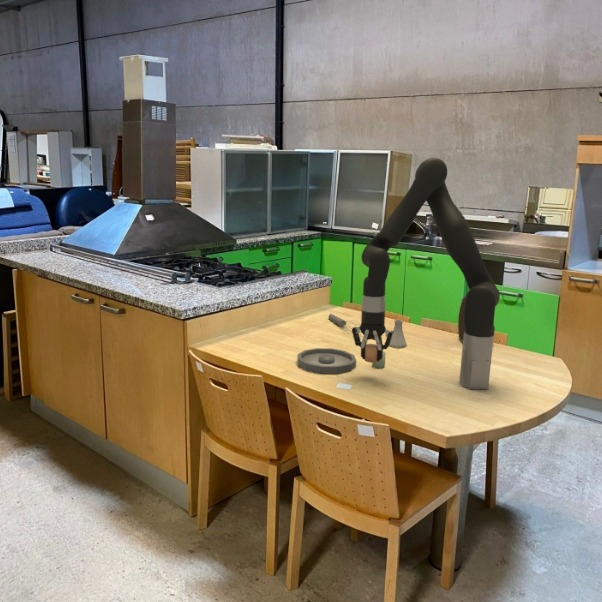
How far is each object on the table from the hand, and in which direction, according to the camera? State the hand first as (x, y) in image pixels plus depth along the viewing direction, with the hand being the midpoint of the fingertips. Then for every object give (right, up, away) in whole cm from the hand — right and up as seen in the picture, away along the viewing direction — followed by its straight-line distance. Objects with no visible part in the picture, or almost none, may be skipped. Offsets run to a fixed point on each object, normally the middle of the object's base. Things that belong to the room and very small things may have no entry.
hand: (371, 359), depth 199 cm
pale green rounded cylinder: (+4, -4, +12) cm, 14 cm away
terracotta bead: (0, 0, 0) cm, 0 cm away
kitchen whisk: (-5, +7, +58) cm, 58 cm away
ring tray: (-14, -3, +13) cm, 20 cm away
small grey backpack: (+45, +2, +43) cm, 62 cm away
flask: (+14, +2, +37) cm, 39 cm away
